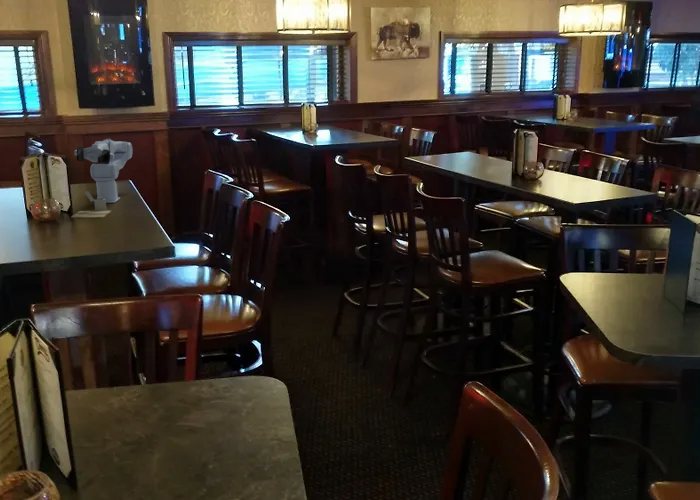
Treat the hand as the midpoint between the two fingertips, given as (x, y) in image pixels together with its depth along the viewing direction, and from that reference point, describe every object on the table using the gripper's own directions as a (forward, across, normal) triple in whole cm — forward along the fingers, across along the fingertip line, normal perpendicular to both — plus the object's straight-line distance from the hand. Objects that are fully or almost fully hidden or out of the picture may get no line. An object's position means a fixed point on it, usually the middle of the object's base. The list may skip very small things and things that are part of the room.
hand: (88, 158), depth 259 cm
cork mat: (+8, +4, +20) cm, 21 cm away
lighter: (0, +4, +20) cm, 21 cm away
